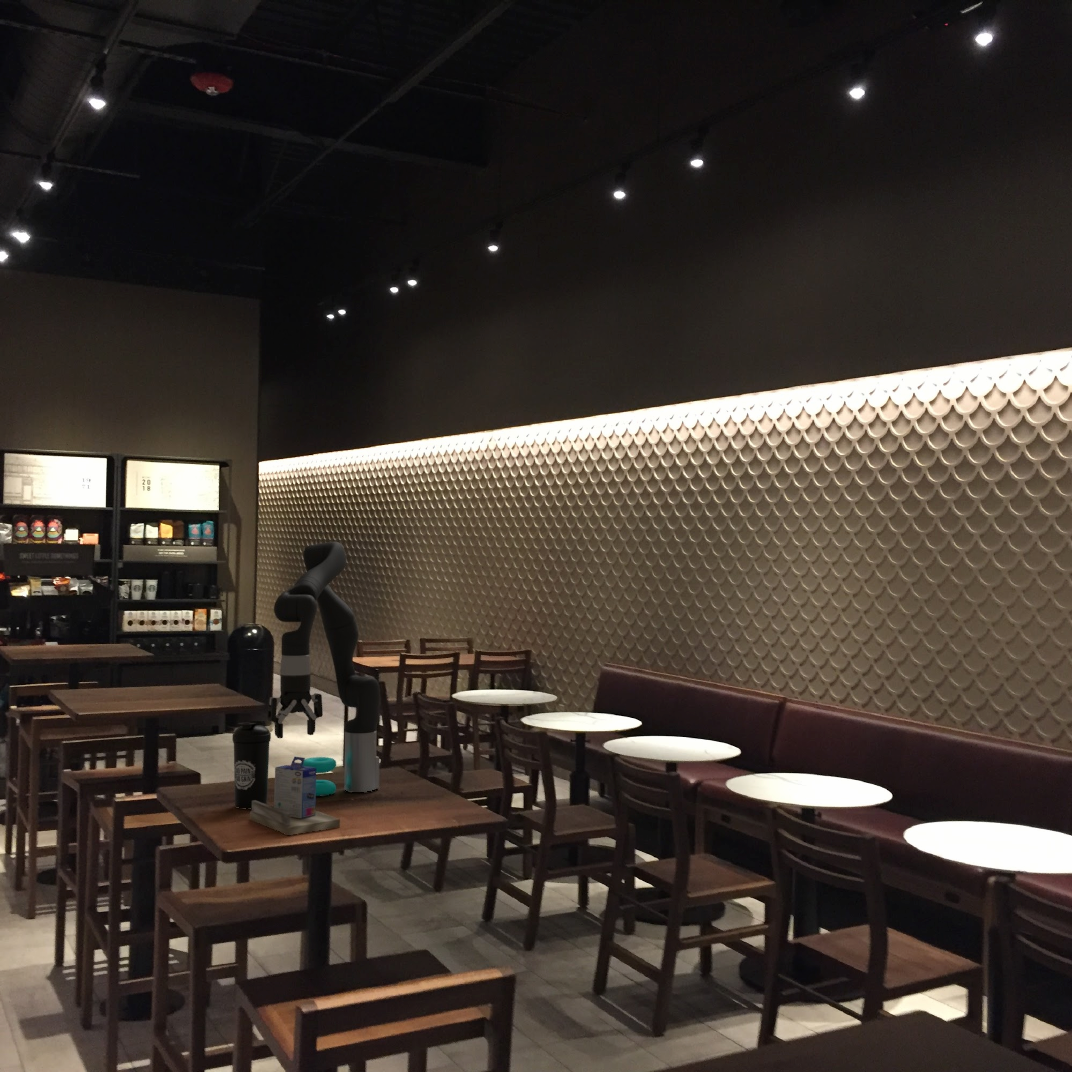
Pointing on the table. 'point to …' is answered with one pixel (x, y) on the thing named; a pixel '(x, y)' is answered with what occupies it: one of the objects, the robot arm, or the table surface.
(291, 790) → the ink cartridge box
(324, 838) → the table surface
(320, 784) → the donuts
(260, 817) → the shelf board
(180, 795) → the table surface
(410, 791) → the table surface
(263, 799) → the water bottle
